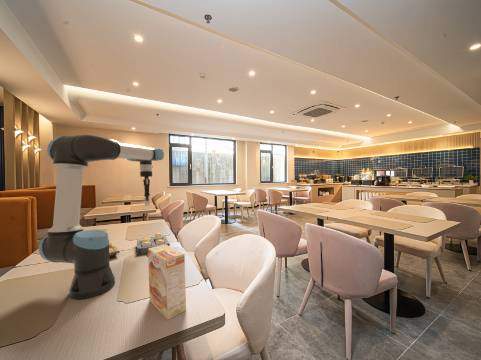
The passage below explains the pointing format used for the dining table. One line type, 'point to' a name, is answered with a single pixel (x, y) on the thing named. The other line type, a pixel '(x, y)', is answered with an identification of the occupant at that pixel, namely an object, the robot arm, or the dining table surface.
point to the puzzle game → (113, 250)
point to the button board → (153, 244)
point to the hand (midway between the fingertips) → (147, 205)
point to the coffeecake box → (167, 280)
